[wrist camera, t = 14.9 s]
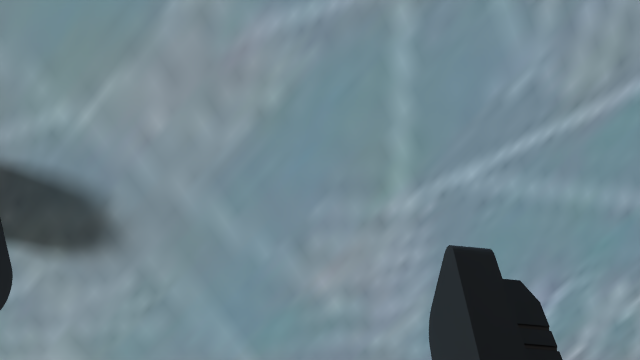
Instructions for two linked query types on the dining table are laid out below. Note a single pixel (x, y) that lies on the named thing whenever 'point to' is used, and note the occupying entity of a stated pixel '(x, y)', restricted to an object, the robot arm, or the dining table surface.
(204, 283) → the dining table surface
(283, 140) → the dining table surface
